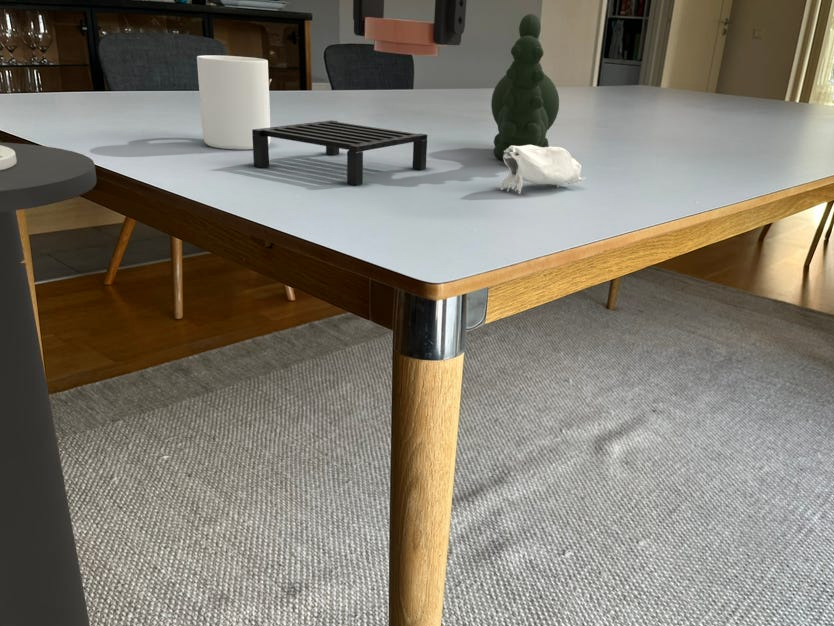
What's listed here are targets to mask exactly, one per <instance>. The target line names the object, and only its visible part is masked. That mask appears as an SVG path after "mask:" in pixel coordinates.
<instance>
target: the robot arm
mask: <svg viewBox="0 0 834 626" xmlns="http://www.w3.org/2000/svg"><path fill="white" fill-rule="evenodd" d="M467 1H468V0H434V16H433V17H434V19H433V22H434V34H433V40H434V42H435V43H436V44H439V45H449V46H460V45H461V42H462V35H463V34H464V33H465V28H466V15H467V3H468V2H467ZM364 17H379V18H385V0H352V20H353V33H354V35H355V36H359V37H364ZM16 162H17V160H16V154H15V151H14V150H12V149H11V148H8V147H5V146H1V145H0V171H2V170H6V169H8V168H11V167H13V166H14V165H15V164H16Z"/></svg>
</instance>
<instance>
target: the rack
mask: <svg viewBox="0 0 834 626" xmlns="http://www.w3.org/2000/svg"><path fill="white" fill-rule="evenodd" d="M268 137H271V138H273V139H281V140H286V141H293V142H299V143H305V144H312V145H315V146H316V145H318V146H323V147H325V154H326V155H330V156H337V155H340V150H347V151H346V171H347V172H346V179H347V180H346V183H347V185H351V186H360V185H363V183H364V152H365V151H372V150H377V149H382V148H383V149H384V148H389V147H395V146H400V145H405V144H410V143H412V144H413V145H412V170H417V171H422V170H426V169H427V157H428V155H427V154H428V150H427V149H428V134H427V133H414V132H407V131H400V130H394V129H387V128H380V127H373V126H367V125H360V124H353V123H347V122H340V121H338V120H333V119H331V120H321V121H314V122H313V121H312V122H304V123H297V124H296V123H295V124H289V125H278V126H270V128H261V129H253V130H252V138H253V149H252V155H253V167H255V168H261V169H263V168H268V167H269V168H270V155H269V154H270V152H269V145H268Z"/></svg>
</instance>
